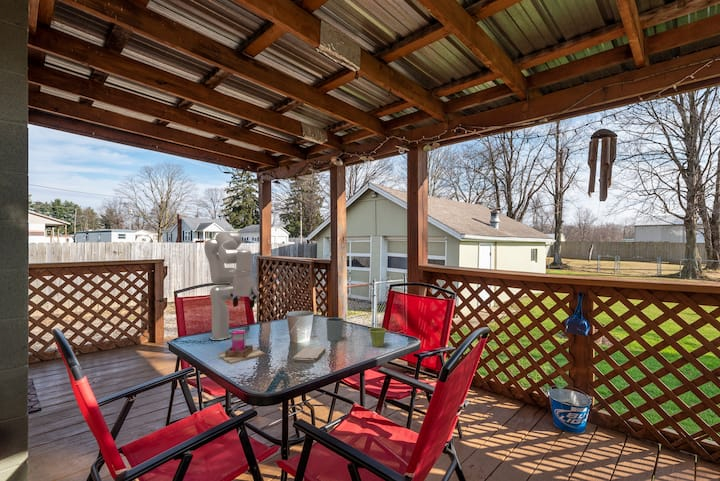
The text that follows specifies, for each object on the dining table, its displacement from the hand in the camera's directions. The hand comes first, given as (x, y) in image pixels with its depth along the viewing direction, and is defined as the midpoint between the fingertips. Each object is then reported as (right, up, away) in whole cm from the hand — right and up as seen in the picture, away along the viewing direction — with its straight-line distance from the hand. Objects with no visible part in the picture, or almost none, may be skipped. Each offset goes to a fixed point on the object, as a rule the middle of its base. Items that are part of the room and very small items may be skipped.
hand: (243, 306), depth 175 cm
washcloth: (+35, -24, -7) cm, 43 cm away
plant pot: (+70, -24, +10) cm, 75 cm away
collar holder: (0, -24, -5) cm, 24 cm away
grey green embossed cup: (+46, -24, +23) cm, 57 cm away
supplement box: (-1, -23, -5) cm, 23 cm away
